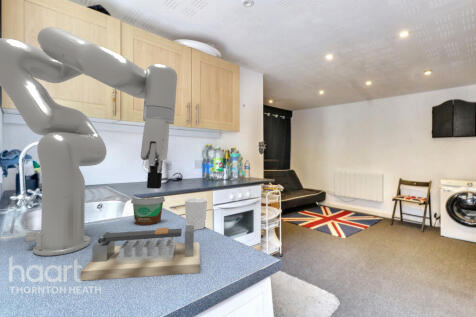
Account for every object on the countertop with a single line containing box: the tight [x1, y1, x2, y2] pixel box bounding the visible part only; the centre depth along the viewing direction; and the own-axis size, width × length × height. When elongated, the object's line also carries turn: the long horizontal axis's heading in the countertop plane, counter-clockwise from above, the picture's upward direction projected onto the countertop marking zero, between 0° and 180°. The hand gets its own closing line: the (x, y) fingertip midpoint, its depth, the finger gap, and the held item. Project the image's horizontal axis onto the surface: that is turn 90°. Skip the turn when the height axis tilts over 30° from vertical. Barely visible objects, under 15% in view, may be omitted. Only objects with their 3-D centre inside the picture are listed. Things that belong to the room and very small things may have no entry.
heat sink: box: [91, 225, 195, 265], centre depth 55 cm, size 22×9×6 cm, turn 100°
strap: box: [97, 227, 183, 243], centre depth 55 cm, size 18×4×2 cm, turn 100°
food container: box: [130, 195, 166, 226], centre depth 87 cm, size 12×6×10 cm, turn 106°
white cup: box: [184, 197, 208, 231], centre depth 84 cm, size 8×8×10 cm
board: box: [79, 241, 201, 281], centre depth 55 cm, size 24×13×2 cm, turn 100°
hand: (154, 187), depth 59 cm, fingers closed
